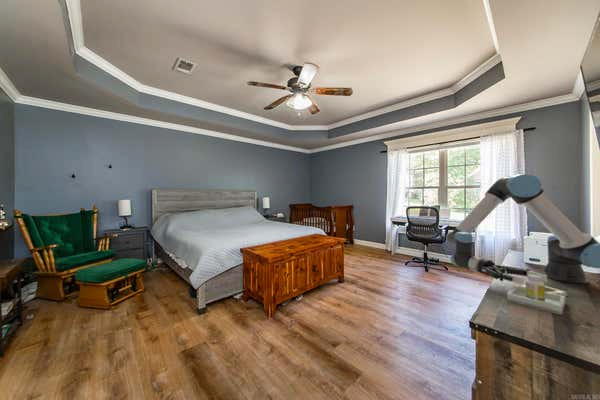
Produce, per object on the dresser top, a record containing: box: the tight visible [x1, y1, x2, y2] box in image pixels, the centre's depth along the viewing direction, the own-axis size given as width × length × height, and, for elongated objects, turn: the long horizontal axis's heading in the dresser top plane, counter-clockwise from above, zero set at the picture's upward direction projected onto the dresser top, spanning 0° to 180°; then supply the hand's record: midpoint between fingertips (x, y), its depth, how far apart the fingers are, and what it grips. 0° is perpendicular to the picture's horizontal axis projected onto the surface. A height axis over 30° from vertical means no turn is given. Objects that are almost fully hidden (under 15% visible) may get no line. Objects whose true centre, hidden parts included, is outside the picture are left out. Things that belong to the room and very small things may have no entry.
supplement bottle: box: [525, 274, 546, 302], centre depth 93 cm, size 5×5×10 cm
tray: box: [506, 285, 566, 316], centre depth 93 cm, size 15×15×3 cm
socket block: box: [518, 284, 568, 297], centre depth 103 cm, size 11×11×2 cm
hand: (534, 280), depth 93 cm, fingers open, 13 cm apart
